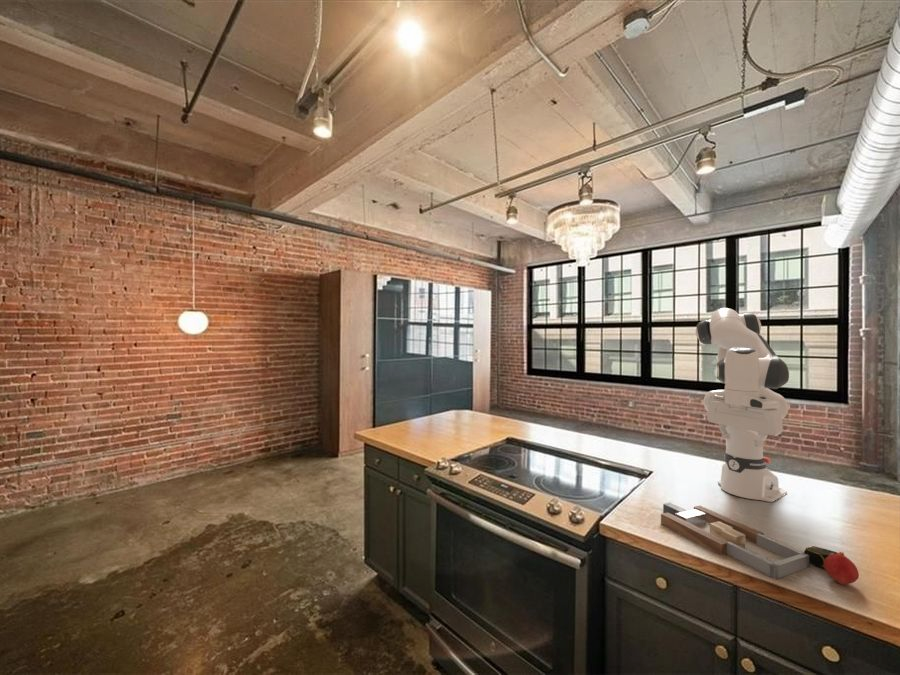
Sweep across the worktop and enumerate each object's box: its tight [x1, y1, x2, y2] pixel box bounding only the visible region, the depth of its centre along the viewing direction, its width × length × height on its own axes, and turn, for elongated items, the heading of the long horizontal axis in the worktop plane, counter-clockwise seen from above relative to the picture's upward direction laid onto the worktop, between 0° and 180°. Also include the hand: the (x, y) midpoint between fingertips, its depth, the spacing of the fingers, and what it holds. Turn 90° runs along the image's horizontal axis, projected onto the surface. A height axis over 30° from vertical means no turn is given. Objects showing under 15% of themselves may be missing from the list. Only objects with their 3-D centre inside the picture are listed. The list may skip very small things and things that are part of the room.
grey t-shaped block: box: [662, 502, 707, 527], centre depth 122 cm, size 9×4×10 cm
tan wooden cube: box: [709, 521, 733, 538], centre depth 110 cm, size 4×4×4 cm
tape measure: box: [803, 545, 838, 569], centre depth 97 cm, size 7×7×4 cm
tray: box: [726, 534, 810, 580], centre depth 99 cm, size 14×12×3 cm
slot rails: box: [660, 505, 765, 556], centre depth 113 cm, size 18×19×3 cm
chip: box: [721, 528, 746, 548], centre depth 106 cm, size 4×4×4 cm
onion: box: [823, 551, 860, 586], centre depth 90 cm, size 6×6×8 cm
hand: (741, 442), depth 116 cm, fingers open, 8 cm apart
